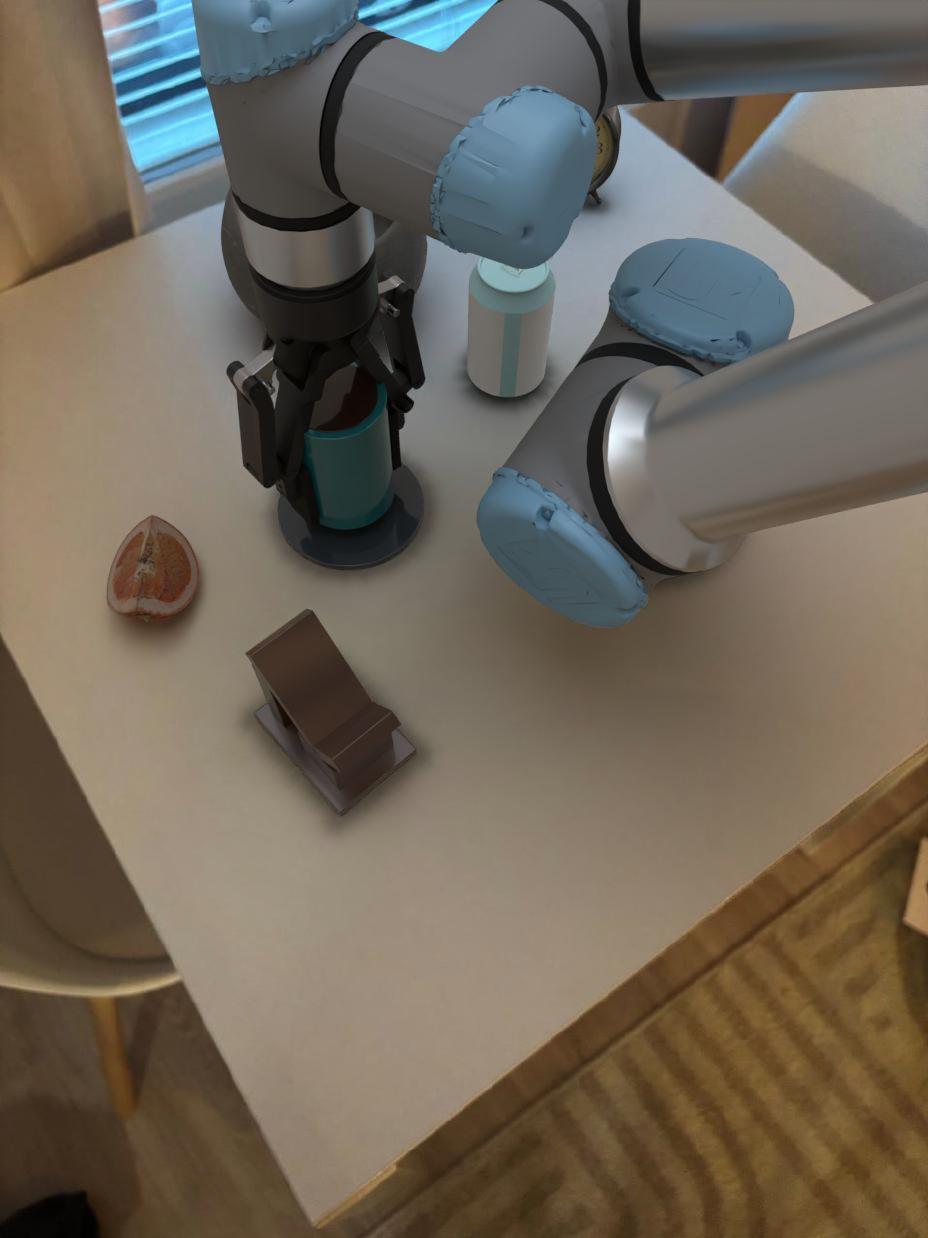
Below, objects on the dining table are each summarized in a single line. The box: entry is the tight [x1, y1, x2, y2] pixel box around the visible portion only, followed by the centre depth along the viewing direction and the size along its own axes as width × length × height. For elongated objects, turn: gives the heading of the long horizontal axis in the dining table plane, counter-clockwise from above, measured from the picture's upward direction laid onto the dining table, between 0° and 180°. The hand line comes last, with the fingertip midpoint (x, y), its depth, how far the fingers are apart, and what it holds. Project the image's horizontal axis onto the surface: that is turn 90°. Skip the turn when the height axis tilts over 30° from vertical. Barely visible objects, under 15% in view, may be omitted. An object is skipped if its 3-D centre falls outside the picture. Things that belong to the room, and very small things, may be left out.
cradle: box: [244, 608, 417, 817], centre depth 64 cm, size 10×7×11 cm
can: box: [466, 256, 557, 398], centre depth 80 cm, size 7×7×12 cm
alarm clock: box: [587, 105, 622, 206], centre depth 90 cm, size 11×5×16 cm, turn 80°
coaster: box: [276, 461, 425, 571], centre depth 78 cm, size 12×12×1 cm
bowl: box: [220, 185, 428, 338], centre depth 83 cm, size 18×18×13 cm
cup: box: [301, 362, 394, 530], centre depth 71 cm, size 13×8×13 cm
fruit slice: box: [106, 514, 200, 622], centre depth 72 cm, size 8×7×5 cm
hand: (347, 485), depth 75 cm, fingers closed on cup, 8 cm apart
